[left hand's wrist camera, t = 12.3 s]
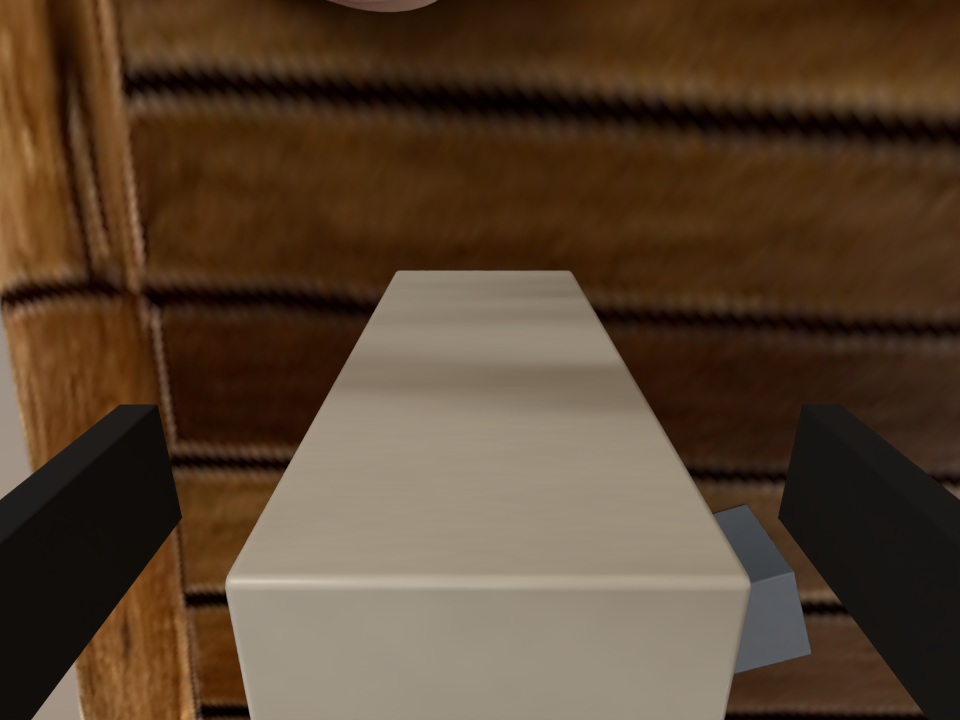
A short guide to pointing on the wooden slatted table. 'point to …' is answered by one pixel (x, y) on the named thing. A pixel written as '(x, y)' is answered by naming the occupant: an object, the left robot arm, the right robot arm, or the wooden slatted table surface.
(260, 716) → the ash block
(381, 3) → the anatomical model
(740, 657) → the slate cube
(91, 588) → the left robot arm
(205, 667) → the wooden slatted table surface
